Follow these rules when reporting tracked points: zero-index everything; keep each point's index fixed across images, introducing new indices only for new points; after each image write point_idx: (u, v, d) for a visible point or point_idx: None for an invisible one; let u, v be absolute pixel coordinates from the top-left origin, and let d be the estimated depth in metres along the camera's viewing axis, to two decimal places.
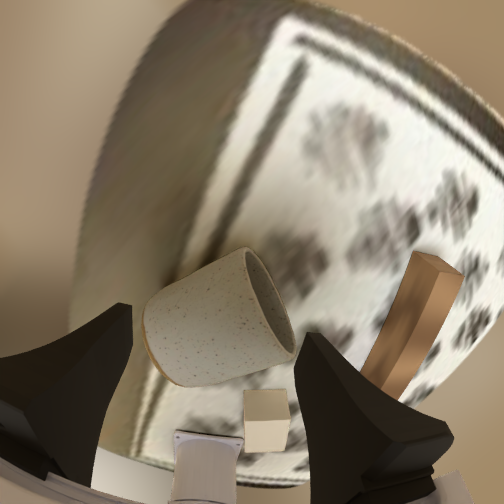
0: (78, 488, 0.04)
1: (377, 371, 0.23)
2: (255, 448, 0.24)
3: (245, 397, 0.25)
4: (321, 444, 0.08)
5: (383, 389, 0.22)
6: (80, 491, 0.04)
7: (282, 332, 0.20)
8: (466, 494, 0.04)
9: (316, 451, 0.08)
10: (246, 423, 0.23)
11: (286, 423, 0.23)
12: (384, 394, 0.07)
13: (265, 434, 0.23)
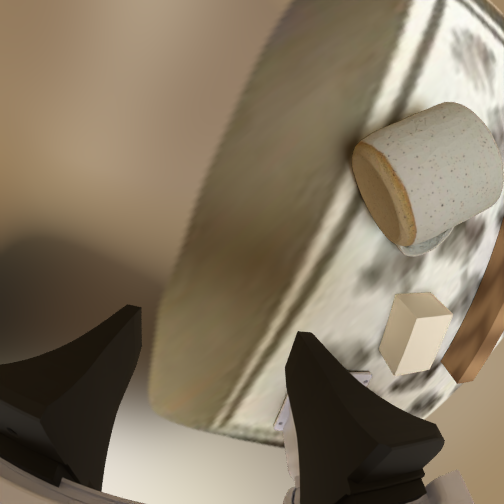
0: (78, 488, 0.04)
1: None
2: (407, 367, 0.21)
3: (401, 299, 0.22)
4: (310, 444, 0.08)
5: None
6: (80, 491, 0.04)
7: None
8: (466, 494, 0.04)
9: (305, 451, 0.08)
10: (416, 322, 0.19)
11: (447, 321, 0.20)
12: (373, 395, 0.07)
13: (426, 340, 0.20)
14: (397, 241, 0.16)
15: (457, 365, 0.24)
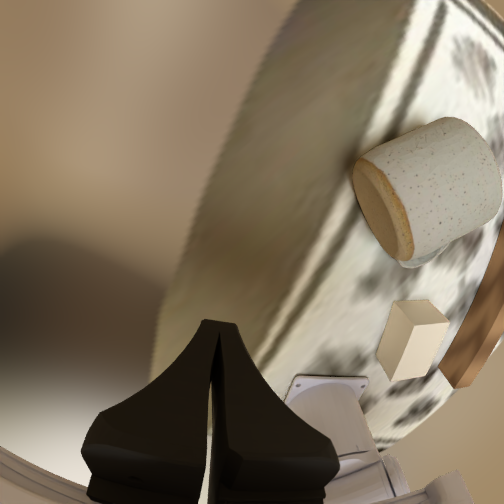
0: (78, 488, 0.04)
1: (503, 270, 0.20)
2: (403, 373, 0.21)
3: (399, 306, 0.22)
4: (214, 440, 0.08)
5: None
6: (80, 491, 0.04)
7: None
8: (466, 494, 0.04)
9: (212, 448, 0.08)
10: (414, 329, 0.20)
11: (444, 328, 0.20)
12: (271, 394, 0.07)
13: (422, 346, 0.20)
14: (395, 256, 0.16)
15: (454, 371, 0.24)
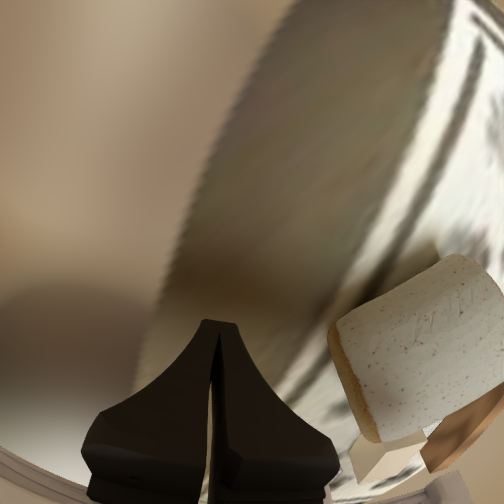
0: (78, 488, 0.04)
1: None
2: (372, 478, 0.18)
3: None
4: (214, 440, 0.08)
5: None
6: (80, 491, 0.04)
7: None
8: (466, 494, 0.04)
9: (212, 448, 0.08)
10: (386, 454, 0.16)
11: (421, 446, 0.16)
12: (271, 394, 0.07)
13: (394, 461, 0.17)
14: None
15: (432, 457, 0.20)
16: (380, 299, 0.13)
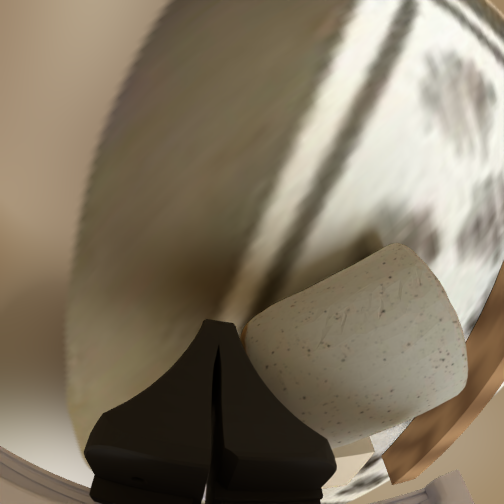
0: (78, 488, 0.04)
1: (467, 382, 0.16)
2: None
3: None
4: (211, 440, 0.08)
5: (474, 402, 0.15)
6: (80, 491, 0.04)
7: None
8: (466, 494, 0.04)
9: None
10: None
11: (367, 456, 0.16)
12: (268, 393, 0.07)
13: (337, 470, 0.16)
14: None
15: (395, 467, 0.20)
16: (298, 294, 0.12)
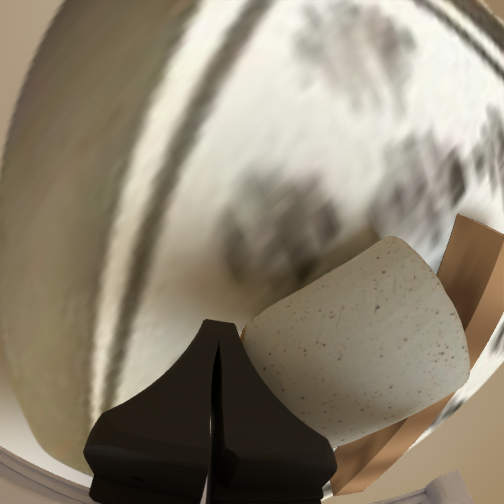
0: (78, 488, 0.04)
1: None
2: None
3: None
4: (212, 440, 0.08)
5: (414, 414, 0.14)
6: (80, 491, 0.04)
7: None
8: (465, 494, 0.04)
9: (210, 447, 0.08)
10: None
11: None
12: (269, 393, 0.07)
13: None
14: None
15: (336, 477, 0.19)
16: (294, 293, 0.12)
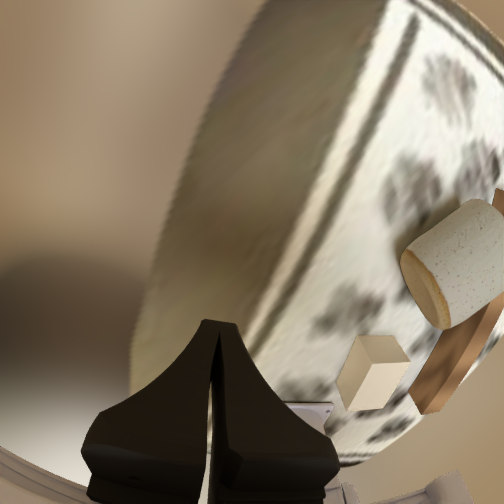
0: (78, 488, 0.04)
1: None
2: (360, 404, 0.22)
3: (361, 341, 0.23)
4: (214, 441, 0.08)
5: (483, 320, 0.20)
6: (80, 491, 0.04)
7: None
8: (465, 494, 0.04)
9: (212, 448, 0.08)
10: (372, 366, 0.21)
11: (404, 367, 0.21)
12: (271, 394, 0.07)
13: (380, 382, 0.21)
14: (434, 326, 0.18)
15: (422, 397, 0.25)
16: (431, 230, 0.18)
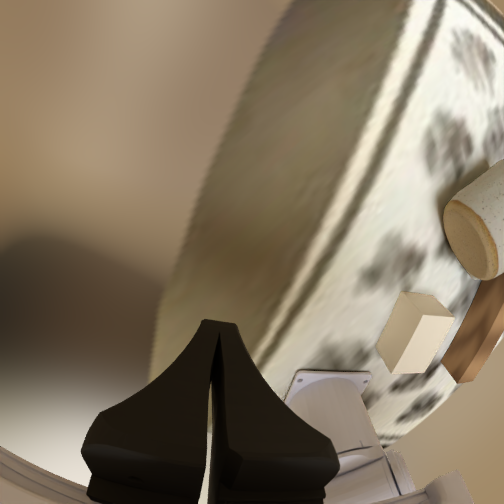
0: (78, 488, 0.04)
1: None
2: (404, 366, 0.21)
3: (407, 296, 0.22)
4: (214, 440, 0.08)
5: None
6: (80, 491, 0.04)
7: None
8: (466, 494, 0.04)
9: (212, 448, 0.08)
10: (422, 318, 0.19)
11: (449, 323, 0.20)
12: (271, 394, 0.07)
13: (427, 339, 0.20)
14: (480, 277, 0.17)
15: (457, 365, 0.24)
16: (471, 183, 0.17)
